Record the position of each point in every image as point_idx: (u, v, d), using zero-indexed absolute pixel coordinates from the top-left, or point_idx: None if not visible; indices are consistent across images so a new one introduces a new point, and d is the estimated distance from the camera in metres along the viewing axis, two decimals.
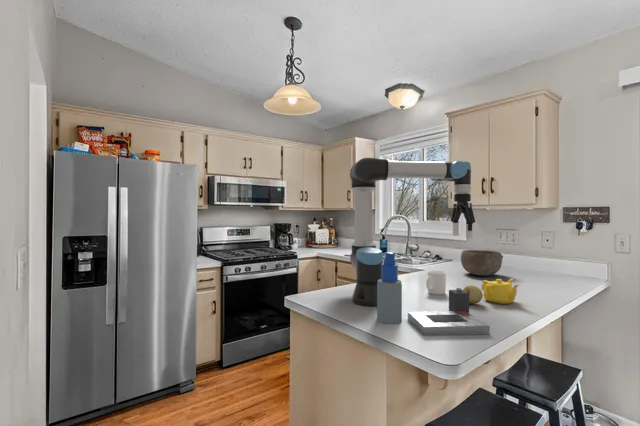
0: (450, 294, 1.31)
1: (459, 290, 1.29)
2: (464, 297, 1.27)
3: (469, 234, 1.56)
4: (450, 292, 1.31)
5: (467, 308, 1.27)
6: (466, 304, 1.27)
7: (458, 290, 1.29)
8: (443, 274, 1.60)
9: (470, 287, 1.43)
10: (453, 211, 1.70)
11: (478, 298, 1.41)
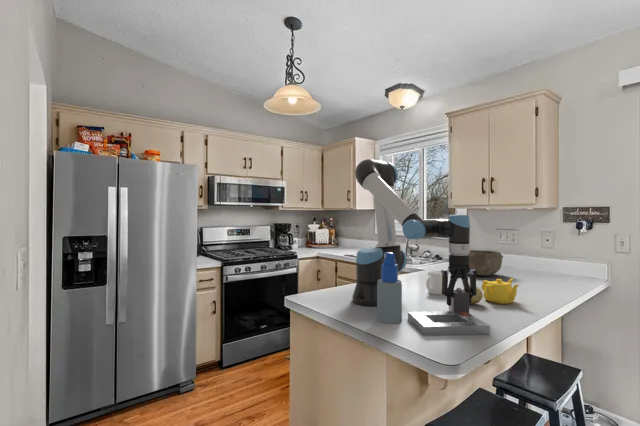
0: None
1: (459, 290, 1.29)
2: (464, 297, 1.27)
3: (450, 309, 1.29)
4: None
5: (467, 308, 1.27)
6: (466, 304, 1.27)
7: (458, 290, 1.29)
8: None
9: None
10: None
11: (478, 298, 1.41)
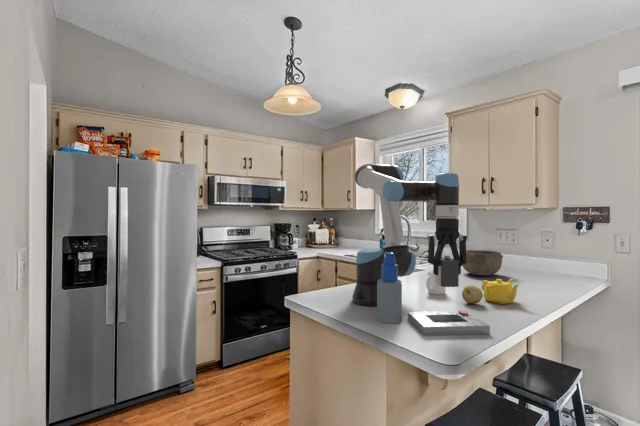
0: None
1: (447, 258, 1.15)
2: (453, 265, 1.13)
3: (437, 279, 1.16)
4: None
5: (456, 277, 1.14)
6: (455, 273, 1.13)
7: (446, 258, 1.15)
8: None
9: (470, 287, 1.43)
10: None
11: (478, 298, 1.41)
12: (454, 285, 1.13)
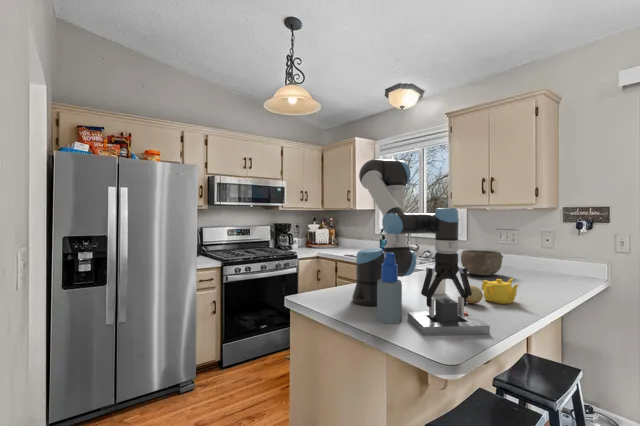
0: (437, 304, 1.17)
1: (447, 299, 1.15)
2: (452, 308, 1.13)
3: (430, 311, 1.15)
4: (437, 301, 1.17)
5: (455, 320, 1.13)
6: (454, 315, 1.13)
7: (445, 299, 1.15)
8: None
9: (470, 287, 1.43)
10: None
11: (478, 298, 1.41)
12: None
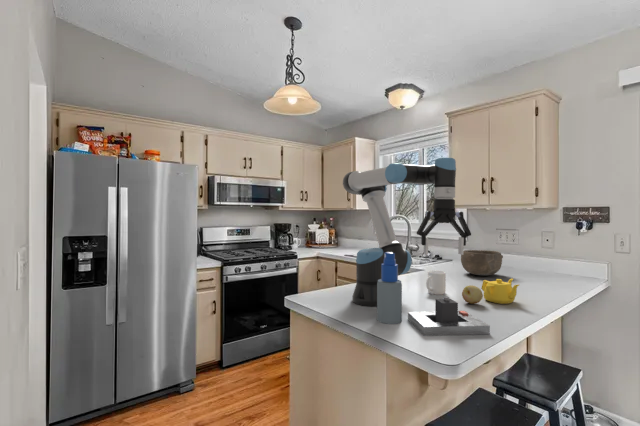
0: (437, 304, 1.17)
1: (447, 299, 1.15)
2: (452, 308, 1.13)
3: (425, 249, 1.27)
4: (437, 301, 1.17)
5: (455, 320, 1.13)
6: (454, 315, 1.13)
7: (445, 299, 1.15)
8: (443, 274, 1.60)
9: (470, 287, 1.43)
10: (460, 221, 1.29)
11: (478, 298, 1.41)
12: None
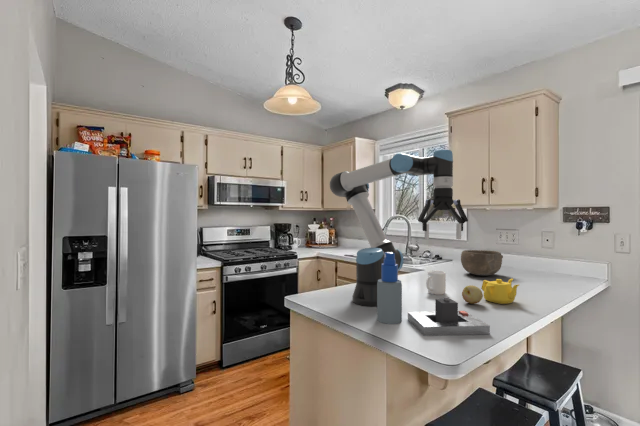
0: (437, 304, 1.17)
1: (447, 299, 1.15)
2: (452, 308, 1.13)
3: (426, 234, 1.37)
4: (437, 301, 1.17)
5: (455, 320, 1.13)
6: (454, 315, 1.13)
7: (445, 299, 1.15)
8: (443, 274, 1.60)
9: (470, 287, 1.43)
10: None
11: (478, 298, 1.41)
12: None
